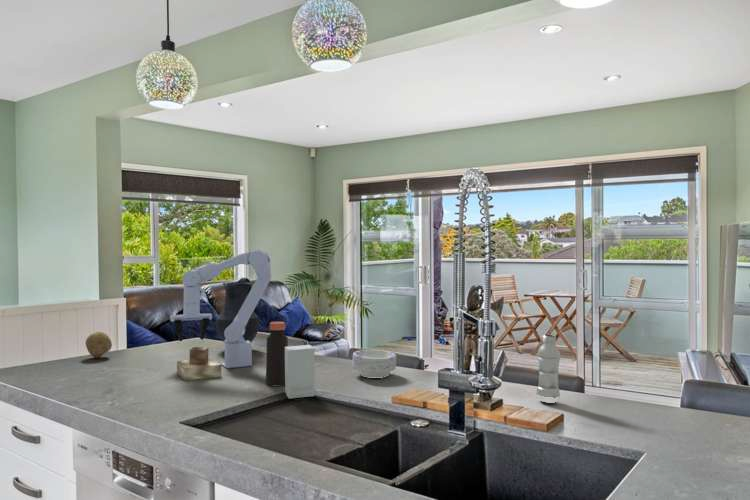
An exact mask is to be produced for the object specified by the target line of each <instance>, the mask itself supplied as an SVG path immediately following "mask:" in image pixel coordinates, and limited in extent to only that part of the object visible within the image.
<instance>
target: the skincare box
mask: <svg viewBox="0 0 750 500" xmlns="http://www.w3.org/2000/svg"><path fill="white" fill-rule="evenodd" d="M315 353H316V352H315V348H314V347H313V346H312V344H302V345H289V346H288V347H285V385H284V386H285V387H284V393H286V394H285V395H286V397H287V398H288V399H289V400H290V399H297V398H306V397H308V398H310V397H315V396H316V394H315V393H316V390H315V389H316V386H315V377H316V376H315V359H316V357H315Z"/></svg>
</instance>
